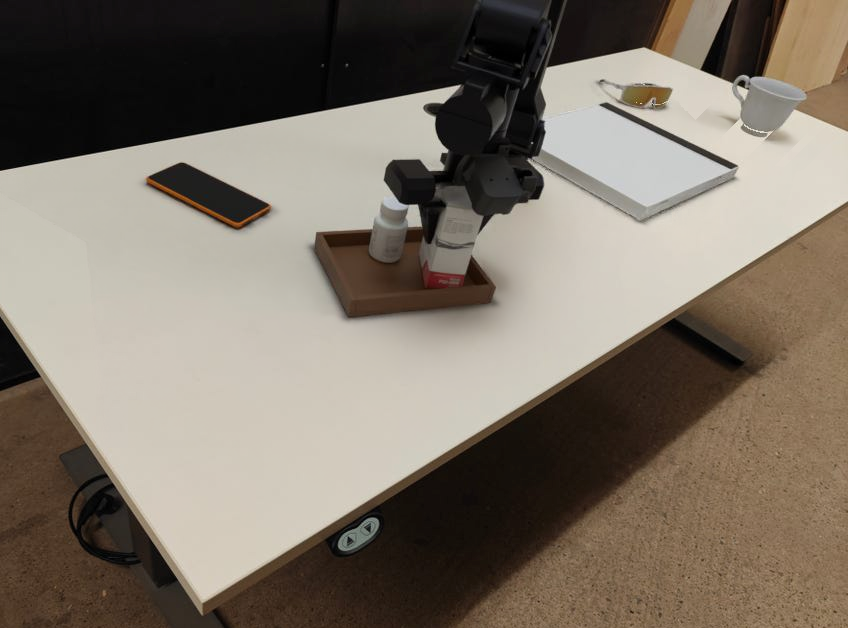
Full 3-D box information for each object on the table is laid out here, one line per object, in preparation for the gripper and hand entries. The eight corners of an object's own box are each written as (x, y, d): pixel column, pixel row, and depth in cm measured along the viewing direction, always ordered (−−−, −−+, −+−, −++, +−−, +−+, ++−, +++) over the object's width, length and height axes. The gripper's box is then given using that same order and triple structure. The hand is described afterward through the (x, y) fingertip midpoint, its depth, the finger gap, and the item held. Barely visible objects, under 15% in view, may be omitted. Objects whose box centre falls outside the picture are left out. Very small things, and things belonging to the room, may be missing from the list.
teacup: (725, 111, 158) (748, 68, 151) (787, 137, 151) (814, 93, 145) (706, 121, 151) (729, 76, 144) (770, 148, 144) (797, 102, 138)
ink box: (461, 294, 85) (487, 211, 77) (423, 289, 84) (446, 205, 76) (452, 256, 91) (476, 177, 83) (417, 252, 90) (438, 171, 83)
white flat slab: (605, 101, 142) (740, 165, 127) (601, 112, 144) (733, 177, 129) (502, 127, 122) (646, 207, 107) (498, 139, 124) (640, 220, 109)
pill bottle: (406, 254, 90) (418, 203, 84) (390, 268, 87) (401, 215, 81) (379, 241, 91) (389, 190, 86) (361, 254, 88) (371, 201, 83)
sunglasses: (623, 107, 148) (631, 84, 145) (588, 90, 160) (595, 68, 157) (676, 111, 152) (685, 88, 149) (639, 94, 163) (646, 72, 161)
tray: (444, 240, 95) (449, 224, 93) (491, 302, 85) (496, 287, 84) (313, 248, 88) (316, 231, 86) (348, 317, 79) (351, 300, 77)
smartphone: (237, 230, 88) (238, 224, 88) (144, 182, 93) (143, 177, 92) (273, 209, 93) (273, 203, 93) (182, 165, 98) (182, 160, 98)
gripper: (435, 157, 65) (404, 285, 76) (591, 155, 72) (543, 273, 82) (394, 108, 73) (371, 231, 83) (539, 110, 79) (501, 224, 90)
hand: (448, 241), depth 84 cm, fingers closed on ink box, 6 cm apart
